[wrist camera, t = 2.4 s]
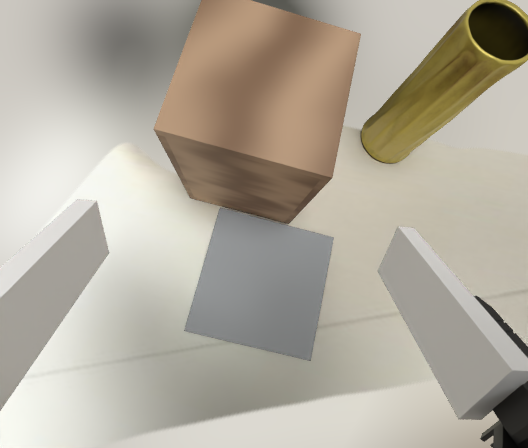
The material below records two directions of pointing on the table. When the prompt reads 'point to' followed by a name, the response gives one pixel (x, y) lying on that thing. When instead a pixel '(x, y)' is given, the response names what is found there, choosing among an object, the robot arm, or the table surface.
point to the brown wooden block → (257, 107)
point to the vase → (449, 78)
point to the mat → (261, 285)
